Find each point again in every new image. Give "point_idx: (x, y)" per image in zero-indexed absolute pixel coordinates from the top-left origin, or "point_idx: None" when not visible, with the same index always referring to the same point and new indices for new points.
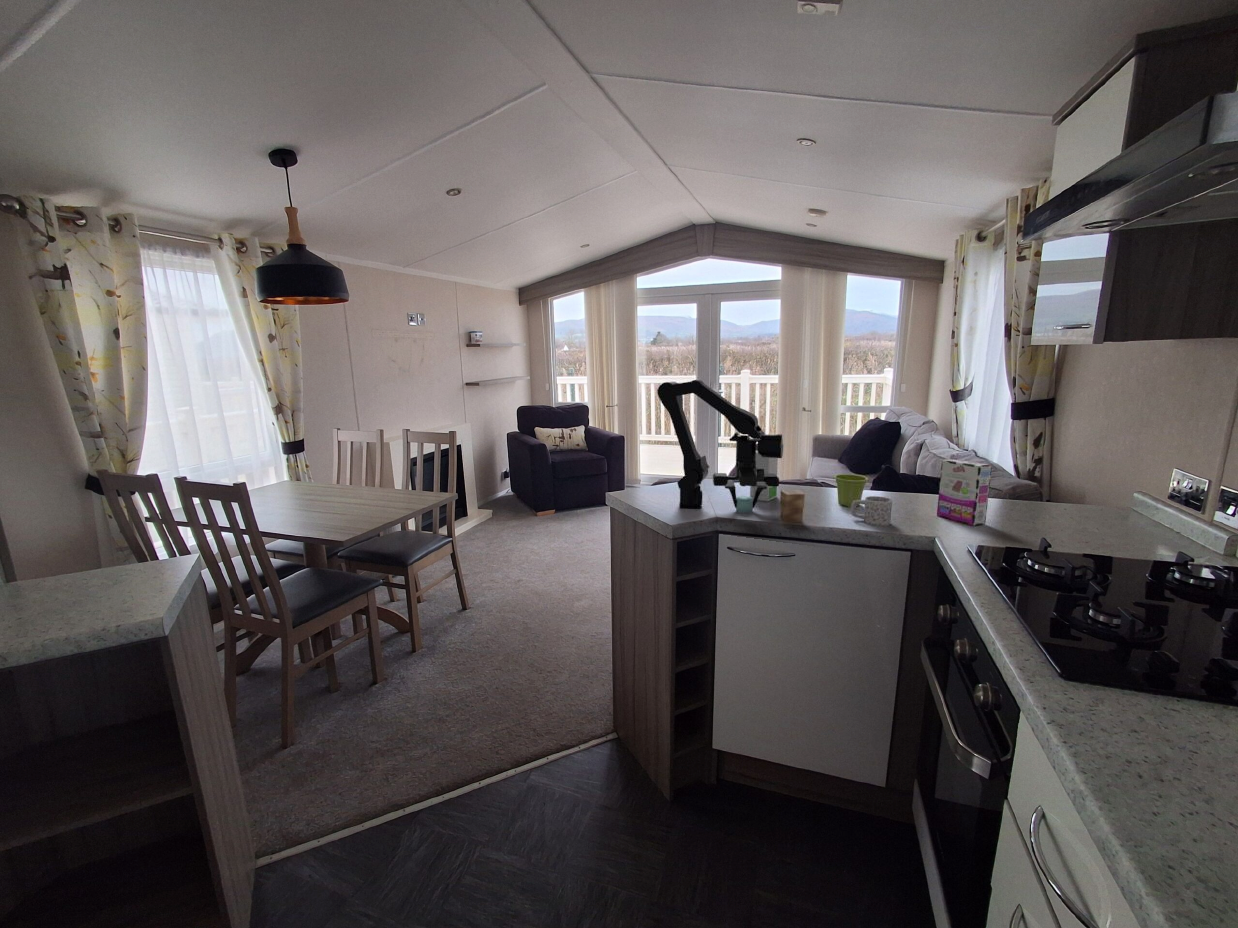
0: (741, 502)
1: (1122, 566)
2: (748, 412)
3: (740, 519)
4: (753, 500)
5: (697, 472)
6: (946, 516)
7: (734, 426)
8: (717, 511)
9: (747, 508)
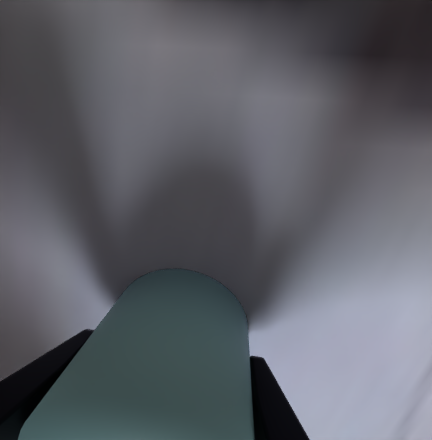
0: (209, 374)
1: None
2: None
3: (295, 49)
4: (31, 407)
5: None
6: None
7: None
8: (415, 346)
9: (152, 296)
